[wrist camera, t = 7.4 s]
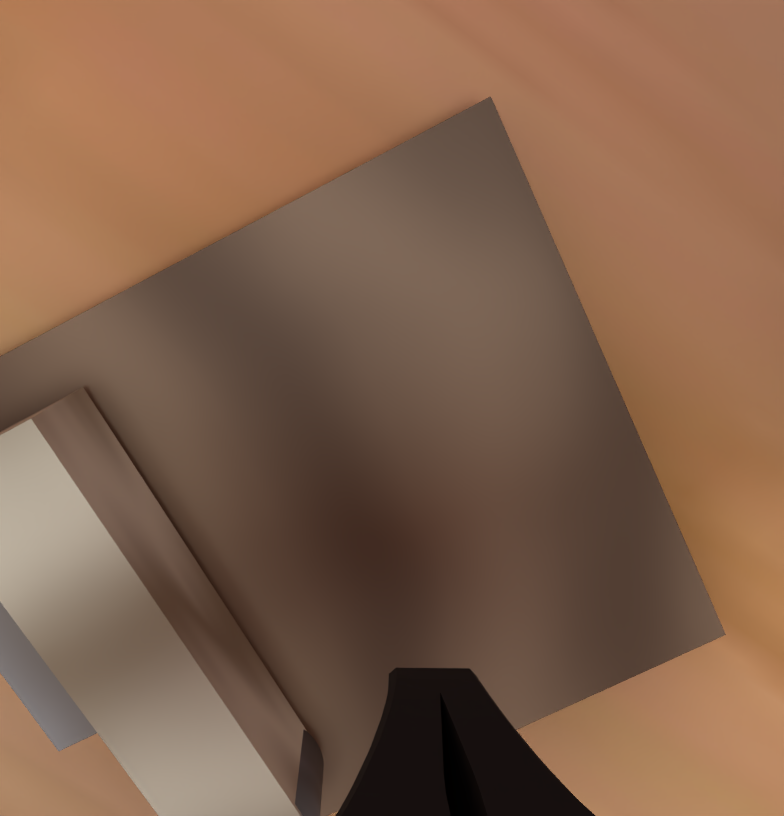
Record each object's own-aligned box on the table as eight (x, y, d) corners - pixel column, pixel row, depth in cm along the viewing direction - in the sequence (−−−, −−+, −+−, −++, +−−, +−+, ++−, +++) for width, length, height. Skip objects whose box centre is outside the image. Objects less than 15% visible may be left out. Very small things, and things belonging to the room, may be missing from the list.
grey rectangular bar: (343, 781, 20) (341, 868, 18) (247, 826, 20) (230, 919, 18) (86, 385, 17) (35, 416, 15) (-22, 443, 18) (-93, 484, 15)
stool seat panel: (214, 829, 23) (184, 952, 19) (-83, 404, 19) (-193, 450, 15) (701, 606, 21) (773, 689, 18) (480, 106, 18) (511, 76, 14)
